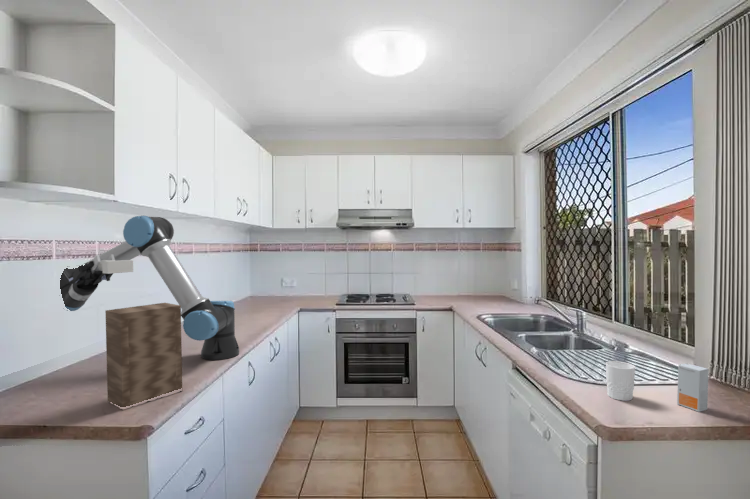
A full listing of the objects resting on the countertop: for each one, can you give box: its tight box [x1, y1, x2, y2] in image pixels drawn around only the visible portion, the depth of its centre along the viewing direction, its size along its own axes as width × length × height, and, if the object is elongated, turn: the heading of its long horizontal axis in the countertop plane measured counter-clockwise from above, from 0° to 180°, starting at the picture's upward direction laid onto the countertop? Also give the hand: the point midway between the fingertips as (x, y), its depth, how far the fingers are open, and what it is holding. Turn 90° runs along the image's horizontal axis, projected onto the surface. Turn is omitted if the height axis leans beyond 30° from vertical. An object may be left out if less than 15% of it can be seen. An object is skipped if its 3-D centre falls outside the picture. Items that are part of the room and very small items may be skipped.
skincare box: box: [676, 362, 710, 413], centre depth 123 cm, size 6×4×12 cm
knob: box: [95, 259, 134, 274], centre depth 148 cm, size 18×8×4 cm, turn 54°
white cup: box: [605, 360, 636, 402], centre depth 131 cm, size 8×8×10 cm
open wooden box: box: [105, 302, 183, 407], centre depth 132 cm, size 18×10×28 cm, turn 144°
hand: (105, 258), depth 149 cm, fingers closed on knob, 4 cm apart
